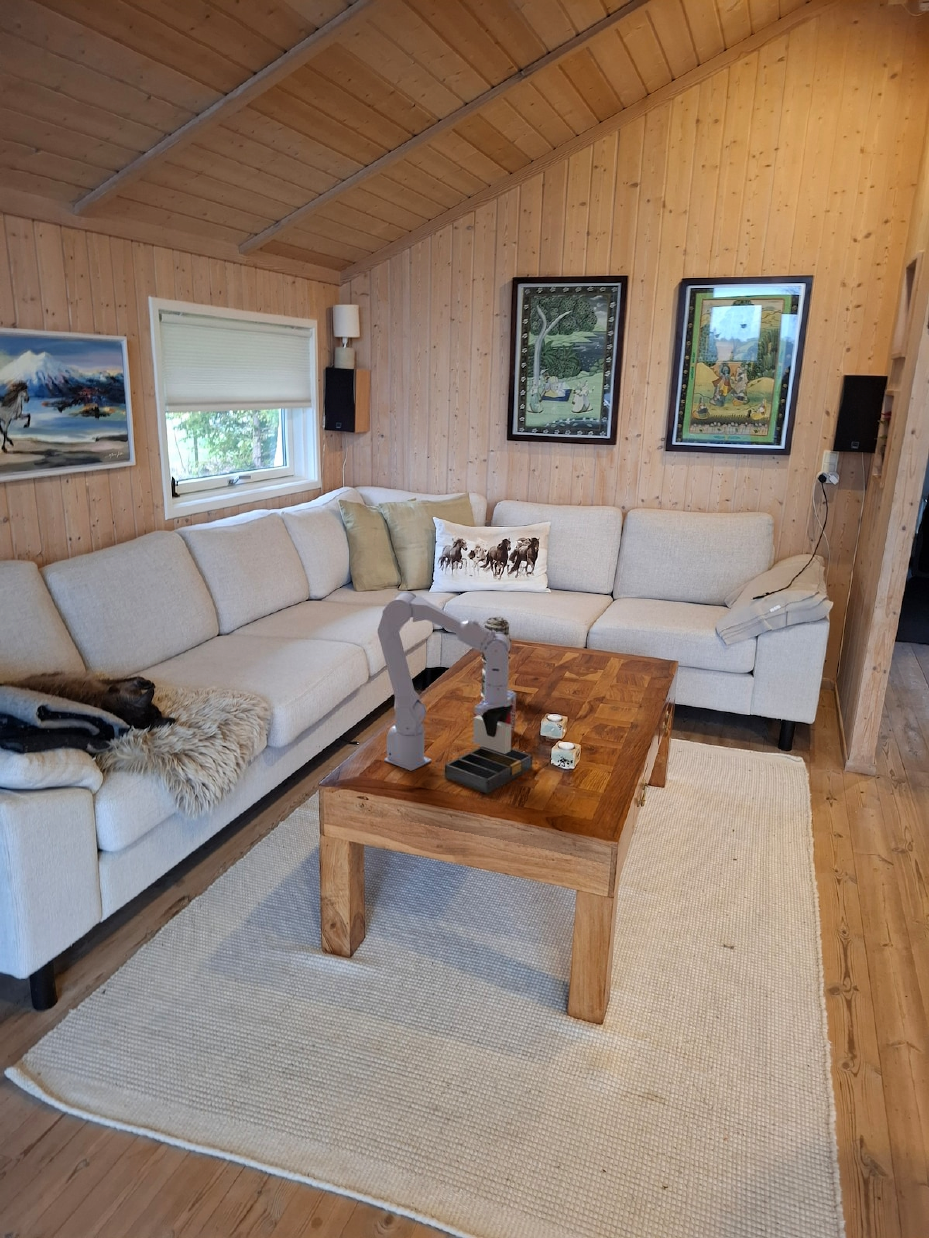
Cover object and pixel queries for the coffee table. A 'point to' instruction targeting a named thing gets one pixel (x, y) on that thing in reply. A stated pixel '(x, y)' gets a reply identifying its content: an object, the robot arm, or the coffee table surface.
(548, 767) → the coffee table surface
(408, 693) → the robot arm
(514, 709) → the soda can
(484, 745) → the panel
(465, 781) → the rack
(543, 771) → the coffee table surface
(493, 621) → the decorative candle
